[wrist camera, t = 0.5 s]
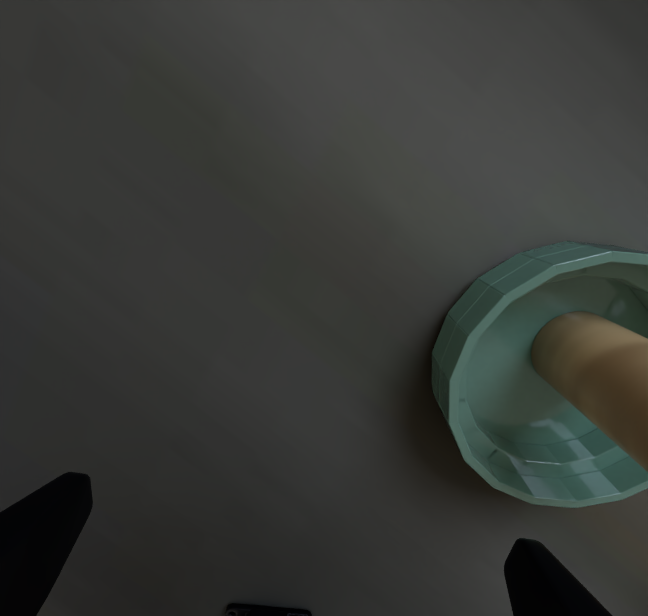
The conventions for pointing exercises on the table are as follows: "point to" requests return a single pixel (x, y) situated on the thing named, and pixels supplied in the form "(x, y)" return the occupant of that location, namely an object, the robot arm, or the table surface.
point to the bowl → (536, 374)
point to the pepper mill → (599, 375)
